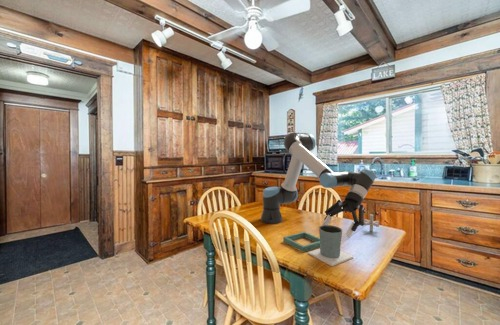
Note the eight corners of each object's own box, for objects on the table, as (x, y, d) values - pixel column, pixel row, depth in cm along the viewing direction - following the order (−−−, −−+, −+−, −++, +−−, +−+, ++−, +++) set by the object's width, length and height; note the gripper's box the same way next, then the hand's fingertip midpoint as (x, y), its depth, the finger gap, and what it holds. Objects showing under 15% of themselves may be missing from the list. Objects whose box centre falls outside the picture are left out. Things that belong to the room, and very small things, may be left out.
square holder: (283, 241, 122) (283, 237, 122) (304, 235, 129) (304, 231, 129) (303, 252, 108) (303, 247, 108) (325, 245, 116) (325, 240, 116)
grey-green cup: (323, 247, 111) (323, 223, 111) (345, 253, 105) (345, 227, 104) (315, 255, 103) (315, 229, 103) (337, 261, 97) (338, 234, 97)
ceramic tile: (308, 253, 107) (308, 252, 107) (328, 247, 114) (328, 245, 114) (332, 266, 95) (332, 264, 95) (353, 258, 102) (353, 256, 102)
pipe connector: (371, 235, 129) (371, 217, 129) (358, 229, 139) (358, 213, 139) (384, 233, 132) (385, 216, 132) (371, 227, 142) (371, 212, 141)
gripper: (384, 205, 102) (363, 245, 95) (338, 196, 123) (318, 228, 117) (377, 195, 99) (355, 235, 92) (331, 187, 121) (311, 219, 114)
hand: (334, 231), depth 105 cm, fingers open, 13 cm apart
